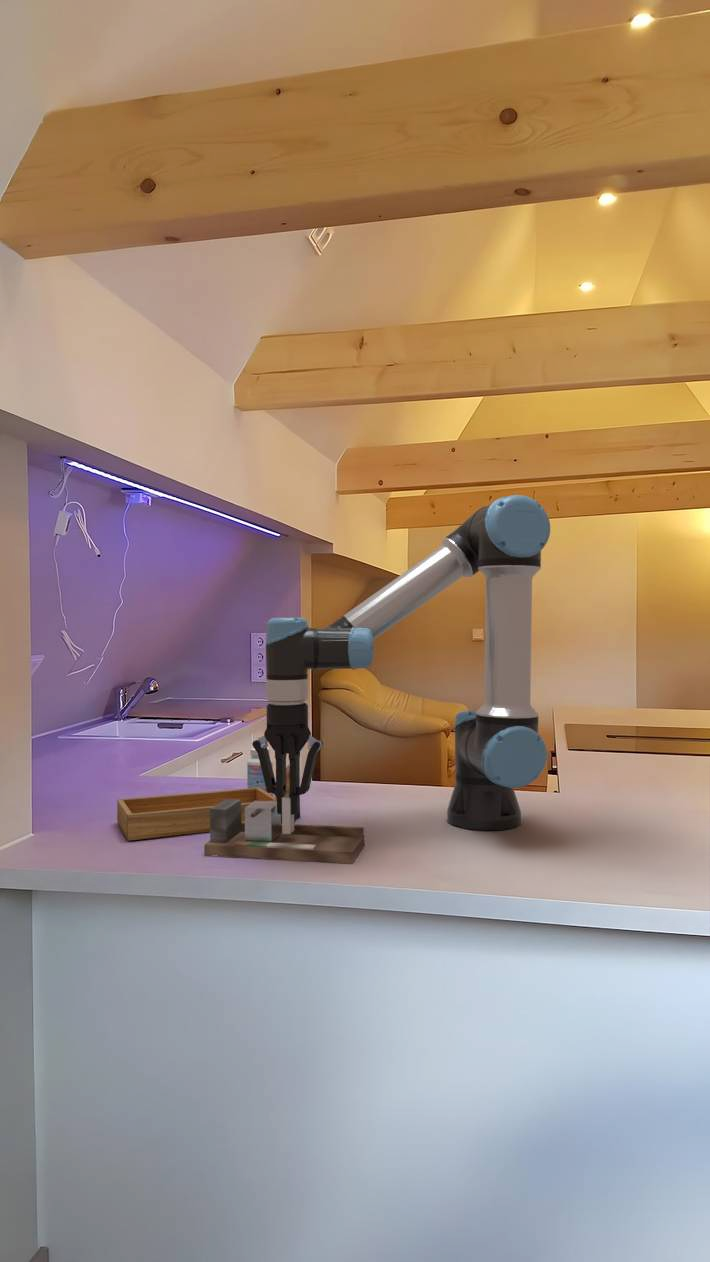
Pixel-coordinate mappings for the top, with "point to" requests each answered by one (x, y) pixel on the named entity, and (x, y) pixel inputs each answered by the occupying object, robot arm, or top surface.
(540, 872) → the top surface
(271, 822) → the cube with dark rod
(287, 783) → the ammunition clip
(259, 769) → the pill bottle
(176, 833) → the tray
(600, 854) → the top surface
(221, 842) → the brown tray with block
